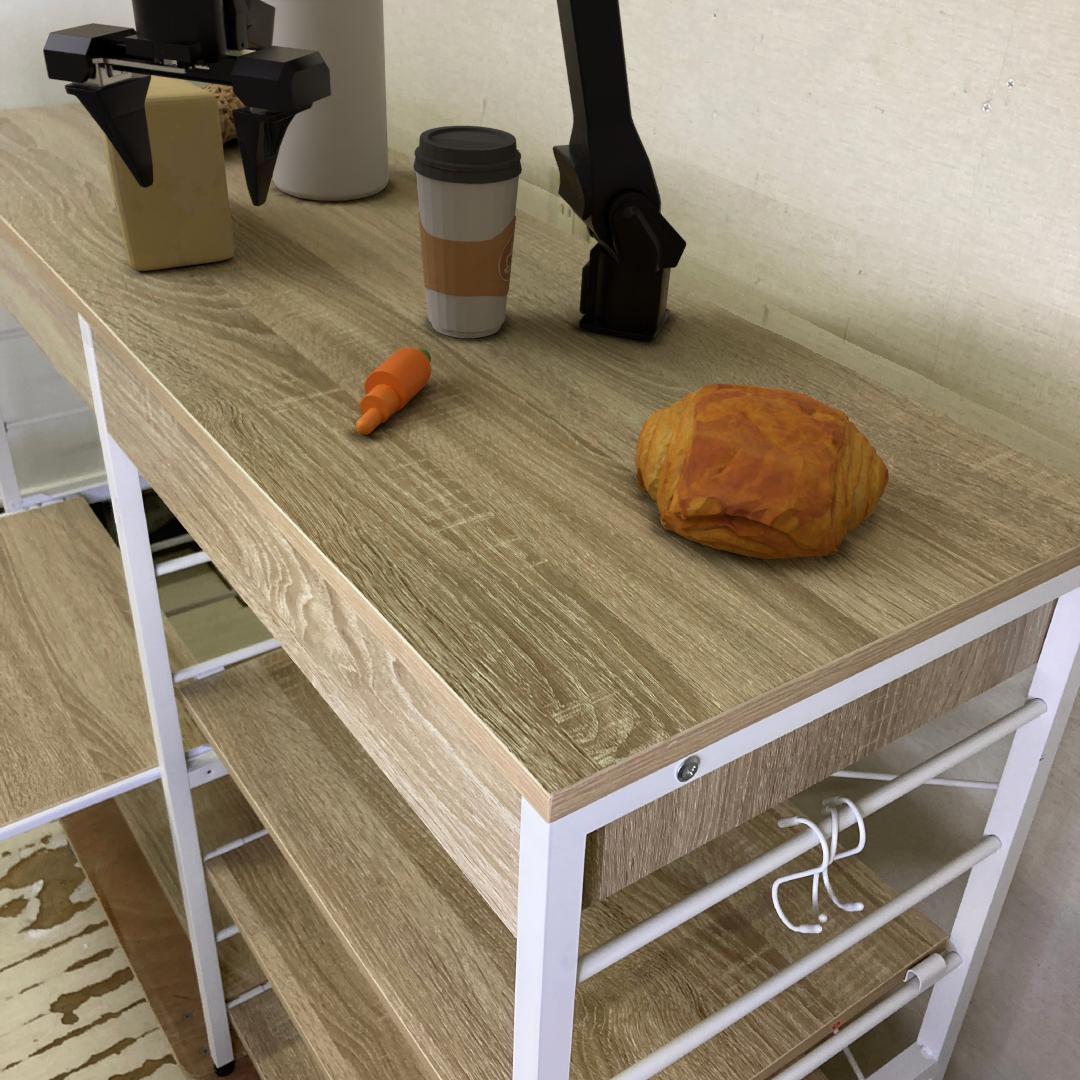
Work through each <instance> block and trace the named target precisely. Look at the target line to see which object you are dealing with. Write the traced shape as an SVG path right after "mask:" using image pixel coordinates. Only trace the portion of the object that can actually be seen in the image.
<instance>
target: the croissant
mask: <svg viewBox="0 0 1080 1080" xmlns="http://www.w3.org/2000/svg"><path fill="white" fill-rule="evenodd" d="M635 452H636V453H635V459H634V461H635V462H634V463H635V467H636V481H637V484H638V486H639V487H640V489H641V490H642V491H645V492H647V493H648V495H649V496H650V497H651V499H652V500H653V501H654V502H655V503H656V505H657V508H658V511H659V514H660V518H659V519H660V525H661V526H662V527H663V528H664V529H665V530H667V531H668V530H669V531H671V532H673V533H675V534H677V535H679V536H681V537H683V538H685V539H687V540H690V541H692V542H693V543H694V542H695V543H699V544H700V545H702V546H705V547H708V548H713V549H714V550H719V551H724V552H728V553H729V552H730V553H734V554H738V555H742V556H746V557H749V558H757V559H765V560H771V559H777V558H778V559H793V558H797V557H821V556H822V557H824V556H825V557H826V556H831V555H833V554H837V553H838V550H839V549H840V548H841V545H842V543H843V541H844V540H845V537H846V535H847V534H846V533H849V532H852V531H853V530H855V529H857V528H858V527H859V526H860V525H861V524H862V522H865V521H866V519H867V518H869V517H870V516H872V515H873V514H874V512H875V510H876V509H875V508H876V507H877V505H878V503H879V500H880V499H881V498H882V497H883V496H884V494H885V491H886V488H887V486H888V483H889V479H890V478H889V477H890V474H889V469H888V466H887V465H886V464H885V461H884V459H883V458H882V457H881V456H880V455H879V454H878V453H877V449H876V447H874V446H873V445H872V444H871V443H870V440H869V439H868V438H867V436H866V435H865V434H864V433H861V432H860V430H859V429H858V428H857V425H855V424H854V422H853V421H851V420H850V417H849V416H848V415H847V414H846V412H845V411H844V410H843V411H842V410H841V409H837V408H835V407H831V406H829V405H828V404H826V403H824V402H822V401H820V400H818V399H816V398H814V397H812V396H809V395H807V394H806V393H801V392H798V391H794V390H789V389H782V388H768V387H764V386H758V385H757V386H756V385H751V384H733V383H710V384H704V385H702V387H701V388H699V389H697V390H694V391H691V392H689V393H687V394H685V395H684V396H683V397H682V398H680V399H679V400H677V401H674V402H672V404H671V405H670V406H664V407H661V408H659V410H658V411H656V412H654V413H651V414H650V415H649V417H648V418H647V419H646V420H645V421H644V423H643V424H642V427H641V430H640V433H639V436H638V439H637V443H636V451H635Z"/></svg>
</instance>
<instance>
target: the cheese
mask: <svg viewBox="0 0 1080 1080" xmlns="http://www.w3.org/2000/svg"><path fill="white" fill-rule="evenodd" d="M200 87H201V86H198V85H196V84H194V83H193V82H191V81H189V80H182V79H175V78H167V77H160V76H152V75H151V81H150V85H149V88H148V92H147V96H146V99H145V112H146V119H147V126H148V133H149V140H150V147H151V154H152V161H153V185H151V186H149V187H147V188H143V187H140V185H139V184H138V182H137V181H136V179H135V178H134V176H133V175H132V173H131V172H130V170H129V169H128V167H127V166H126V164H125V163H124V161H123V160H122V158H121V157H120V155H119V154H118V152H117V151H116V149H115V148H114V146H113V145H112V143H111V142H110V140H109V139H108V138H107V136H106V135H105V133H104V132H103V131H102V129H101V128H100V130H101V138H102V144H103V145H102V146H103V151H104V155H105V156H104V157H105V162H106V167H107V170H108V175H109V180H110V183H111V189H112V194H113V199H114V203H115V208H116V212H117V216H118V222H119V225H120V230H121V234H122V239H123V242H124V243H123V244H124V246H125V252H126V256H127V260H128V264H129V266H130V268H131V269H132V270H135V271H139V272H140V271H141V272H144V271H156V270H164V269H171V268H178V267H188V266H195V265H201V264H203V265H204V264H209V263H216V262H223V261H227V260H229V259H231V258H232V257H233V256H234V255H235V242H234V241H235V240H234V230H233V229H234V228H233V219H232V213H231V212H232V211H231V205H230V198H229V189H228V182H227V174H226V172H227V171H226V164H225V155H224V153H225V152H224V144H222V134H221V125H220V116H219V107H218V101H217V98H216V97H215V95H213V94H212V93H210V92H208V91H206V90H204V89H202V88H200Z"/></svg>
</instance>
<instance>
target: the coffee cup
mask: <svg viewBox="0 0 1080 1080" xmlns="http://www.w3.org/2000/svg"><path fill="white" fill-rule="evenodd" d="M418 141H419V142H418V146H417V147H416V148H415V149H414V162H413V165H412V168H413V170H414V171H415V175H416V186H417V187H416V188H417V197H418V213H417V214H418V225H419V234H420V247H421V258H422V259H421V260H422V273H423V284H424V286H423V287H424V288H425V297H426V310H427V319H428V320H429V322H430V323H431V326H432V328H433V329H434V330H435V331H436V332H438V333H440V334H442V335H445V336H447V337H454V338H457V339H458V338H460V339H477V338H484V337H485V338H486V337H489V336H492V335H494V334H495V333H497V332H498V331H500V329H501V328H502V325H503V323H504V322H505V320H506V314H507V313H506V312H507V304H508V303H507V302H508V301H507V300H508V294H509V290H510V283H511V273H512V264H513V263H512V262H513V253H514V241H515V232H516V223H517V215H516V210H517V202H518V191H519V179H520V175H522V171H523V168H522V163H521V160H522V153H521V152H520V149H518V147H517V146H518V145H517V138H516V137H515V135H514V134H512V133H510V132H508V131H505V130H502V129H498V128H494V127H488V126H479V125H447V126H444V125H443V126H438V127H432V128H430V129H427V130H424V131H423V132H421V133H420V135H419V140H418Z"/></svg>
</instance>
